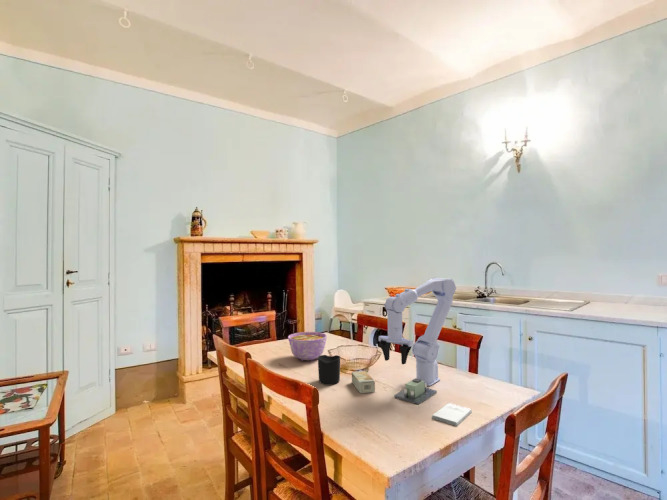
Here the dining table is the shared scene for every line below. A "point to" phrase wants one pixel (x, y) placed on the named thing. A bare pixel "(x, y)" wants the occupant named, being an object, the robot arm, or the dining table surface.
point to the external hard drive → (452, 414)
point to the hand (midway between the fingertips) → (395, 361)
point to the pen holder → (329, 369)
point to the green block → (415, 387)
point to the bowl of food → (307, 344)
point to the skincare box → (363, 382)
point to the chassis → (419, 398)
